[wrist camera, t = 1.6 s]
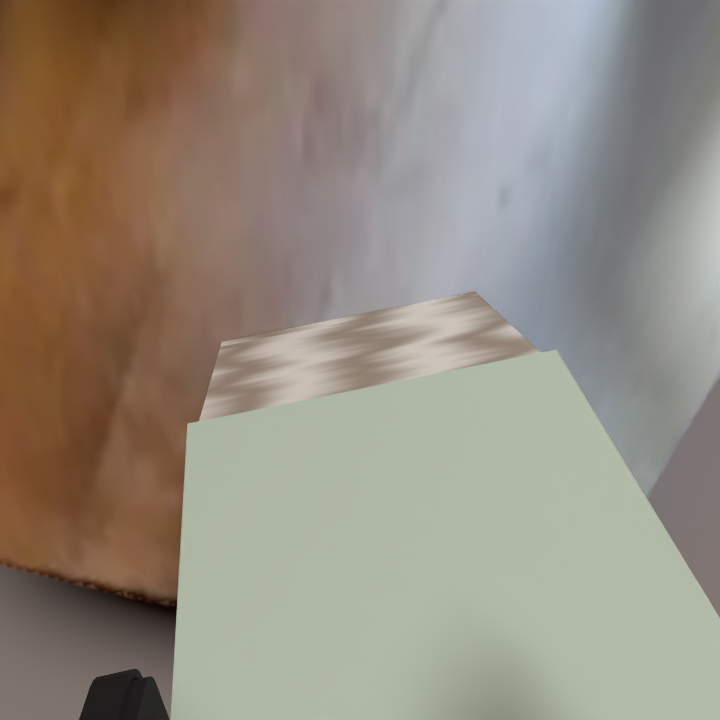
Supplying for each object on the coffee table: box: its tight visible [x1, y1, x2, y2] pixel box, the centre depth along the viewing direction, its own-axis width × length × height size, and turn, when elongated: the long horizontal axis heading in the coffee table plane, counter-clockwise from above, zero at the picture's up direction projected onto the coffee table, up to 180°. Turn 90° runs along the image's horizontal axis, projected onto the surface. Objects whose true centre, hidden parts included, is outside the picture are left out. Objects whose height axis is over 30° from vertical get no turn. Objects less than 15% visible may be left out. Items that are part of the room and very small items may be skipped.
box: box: [199, 292, 541, 421], centre depth 40 cm, size 17×17×14 cm
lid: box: [171, 349, 720, 720], centre depth 24 cm, size 17×17×1 cm
